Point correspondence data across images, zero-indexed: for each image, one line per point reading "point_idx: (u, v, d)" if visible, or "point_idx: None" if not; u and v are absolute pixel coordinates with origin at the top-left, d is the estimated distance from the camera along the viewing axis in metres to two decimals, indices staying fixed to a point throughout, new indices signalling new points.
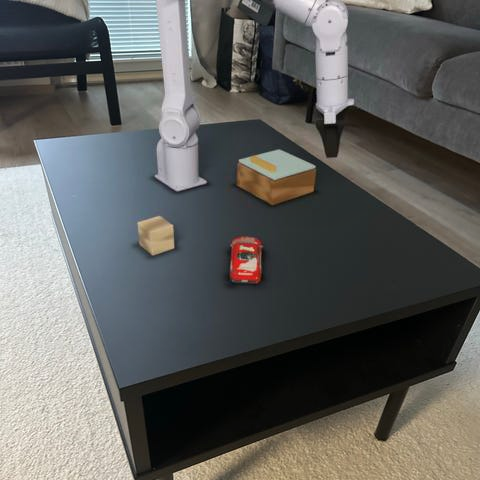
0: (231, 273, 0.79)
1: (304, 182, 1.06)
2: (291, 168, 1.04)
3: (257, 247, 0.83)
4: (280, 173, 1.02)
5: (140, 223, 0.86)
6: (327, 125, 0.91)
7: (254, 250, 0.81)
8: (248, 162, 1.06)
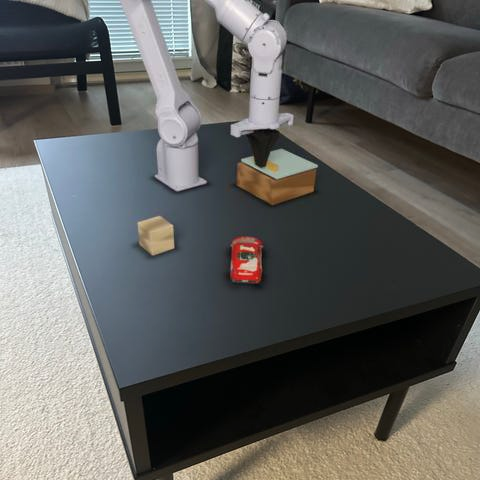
0: (231, 273, 0.79)
1: (304, 182, 1.06)
2: (293, 168, 1.04)
3: (257, 247, 0.83)
4: (283, 172, 1.02)
5: (140, 223, 0.86)
6: (250, 134, 0.99)
7: (254, 250, 0.81)
8: (251, 161, 1.06)
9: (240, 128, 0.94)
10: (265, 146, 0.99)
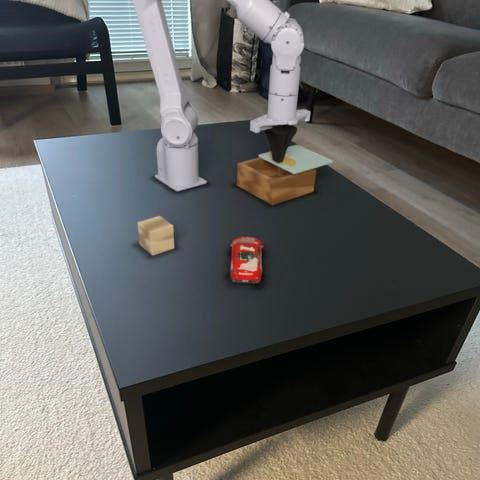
0: (232, 273, 0.79)
1: (304, 182, 1.06)
2: (310, 163, 1.07)
3: (257, 247, 0.83)
4: (299, 167, 1.05)
5: (140, 223, 0.86)
6: (269, 130, 1.01)
7: (254, 250, 0.81)
8: (268, 157, 1.09)
9: (259, 124, 0.97)
10: (283, 142, 1.02)
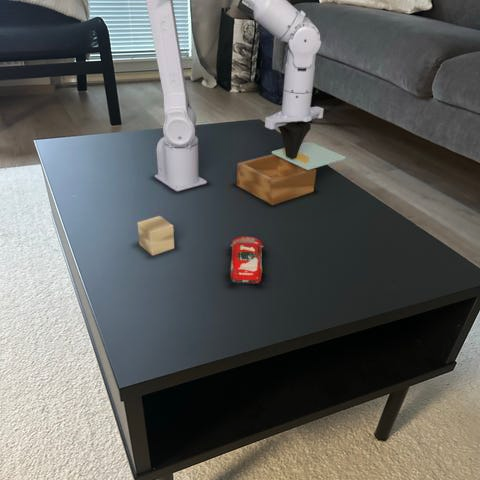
0: (232, 273, 0.79)
1: (304, 182, 1.06)
2: (323, 159, 1.09)
3: (258, 247, 0.83)
4: (313, 163, 1.06)
5: (140, 223, 0.86)
6: (283, 126, 1.03)
7: (254, 250, 0.81)
8: (281, 153, 1.10)
9: (275, 120, 0.99)
10: (297, 138, 1.04)
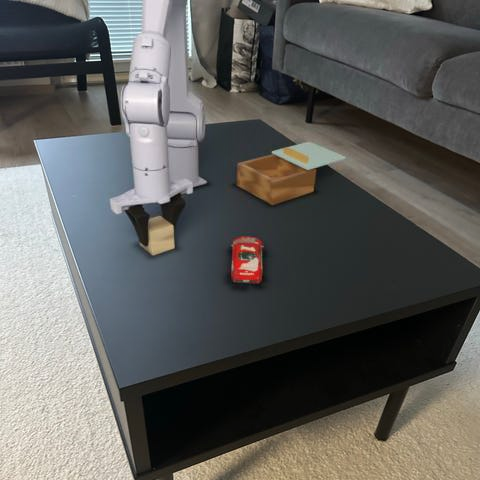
0: (232, 273, 0.79)
1: (304, 182, 1.06)
2: (323, 159, 1.09)
3: (258, 247, 0.83)
4: (313, 163, 1.06)
5: None
6: (126, 210, 0.82)
7: (255, 250, 0.81)
8: (281, 153, 1.10)
9: (120, 204, 0.78)
10: (145, 224, 0.82)
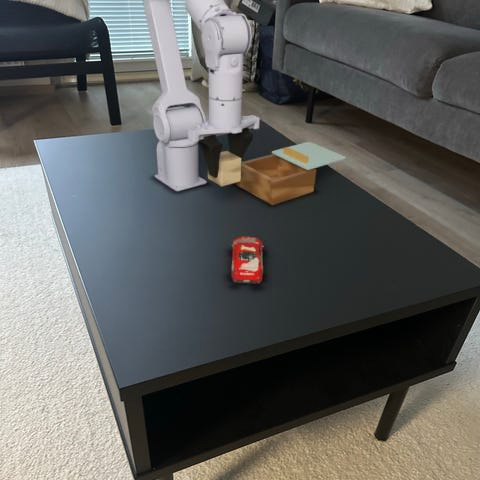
0: (233, 273, 0.79)
1: (304, 182, 1.06)
2: (323, 159, 1.09)
3: (258, 247, 0.83)
4: (313, 163, 1.06)
5: None
6: (201, 141, 0.88)
7: (255, 250, 0.81)
8: (281, 153, 1.10)
9: (197, 132, 0.85)
10: (217, 154, 0.89)
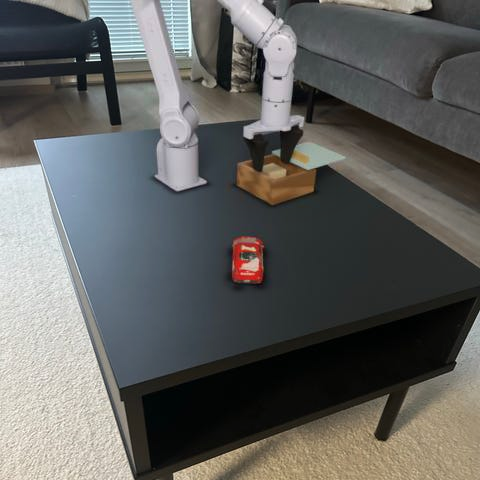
0: (233, 273, 0.79)
1: (304, 182, 1.06)
2: (323, 159, 1.09)
3: (259, 247, 0.83)
4: (313, 163, 1.06)
5: None
6: (249, 139, 0.99)
7: (256, 250, 0.81)
8: None
9: (253, 130, 0.96)
10: (263, 151, 1.00)
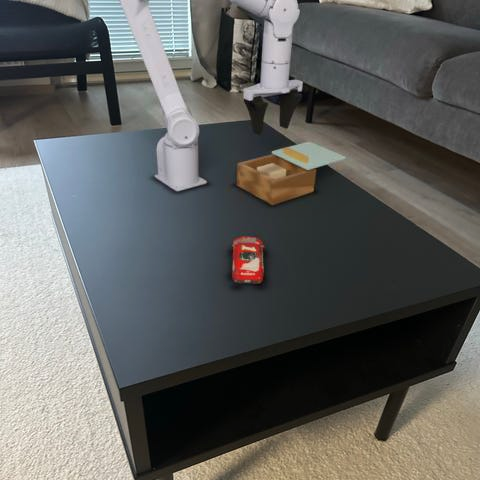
0: (233, 273, 0.79)
1: (304, 182, 1.06)
2: (323, 159, 1.09)
3: (259, 247, 0.83)
4: (313, 163, 1.06)
5: (259, 168, 1.06)
6: (248, 101, 1.02)
7: (256, 250, 0.81)
8: (281, 153, 1.10)
9: (252, 91, 0.99)
10: (263, 113, 1.02)
